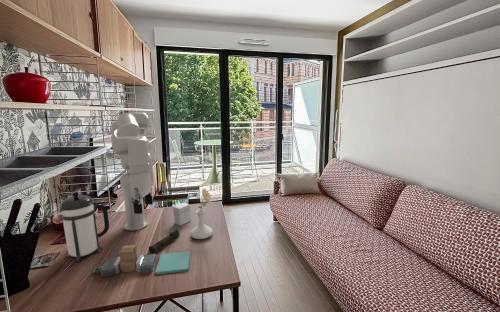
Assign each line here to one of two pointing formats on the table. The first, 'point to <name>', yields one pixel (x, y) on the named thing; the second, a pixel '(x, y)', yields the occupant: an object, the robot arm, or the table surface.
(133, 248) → the wooden block
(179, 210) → the small box
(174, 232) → the brown wooden branch
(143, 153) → the robot arm
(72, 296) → the table surface
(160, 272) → the mat
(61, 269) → the table surface
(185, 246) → the table surface
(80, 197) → the coffee press
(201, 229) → the flower in vase
